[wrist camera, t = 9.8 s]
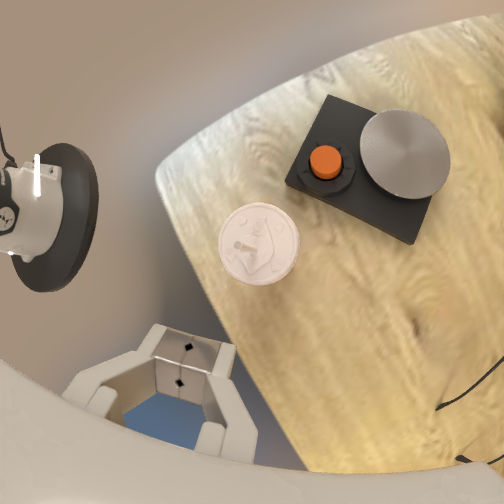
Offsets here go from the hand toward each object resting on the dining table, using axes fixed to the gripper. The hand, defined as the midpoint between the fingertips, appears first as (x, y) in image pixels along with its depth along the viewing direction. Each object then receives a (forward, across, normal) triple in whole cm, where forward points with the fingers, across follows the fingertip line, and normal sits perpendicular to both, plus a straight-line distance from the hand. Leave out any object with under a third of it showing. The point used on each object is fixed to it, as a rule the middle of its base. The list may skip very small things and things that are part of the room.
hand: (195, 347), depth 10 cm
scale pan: (+22, +13, +8) cm, 27 cm away
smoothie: (+22, +3, -5) cm, 23 cm away
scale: (+25, +11, +6) cm, 28 cm away
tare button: (+23, +6, +5) cm, 24 cm away
